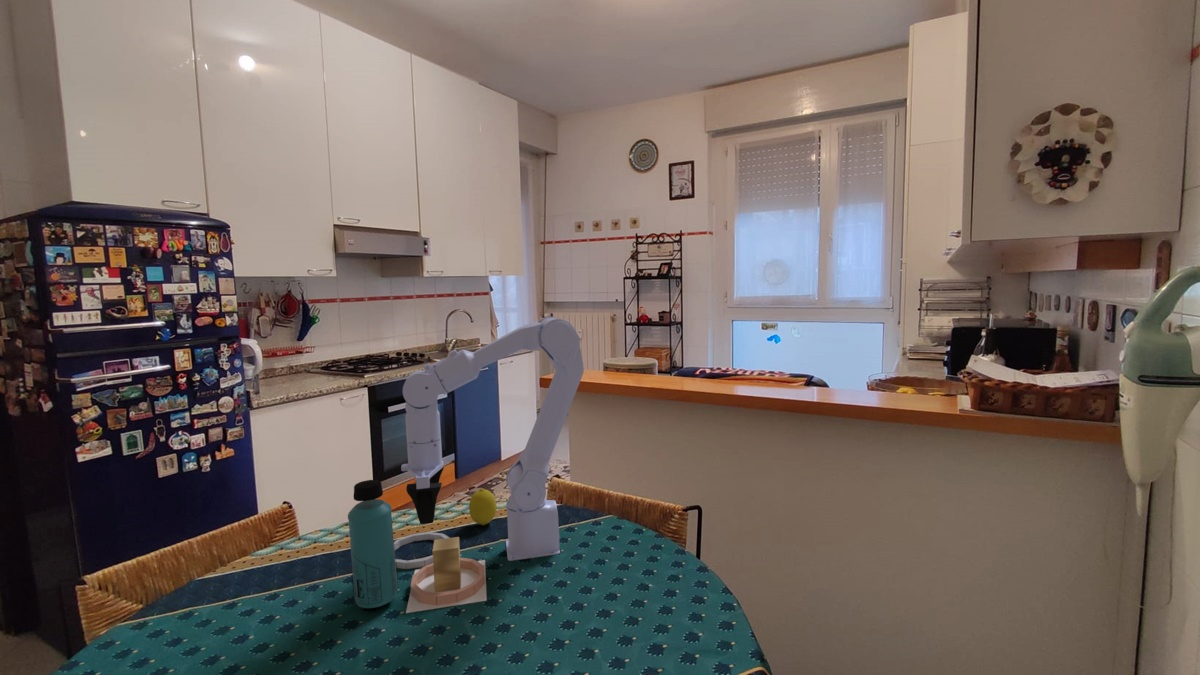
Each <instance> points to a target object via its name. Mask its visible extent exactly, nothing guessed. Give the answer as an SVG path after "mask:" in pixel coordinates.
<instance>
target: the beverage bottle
mask: <svg viewBox="0 0 1200 675" xmlns="http://www.w3.org/2000/svg"><path fill="white" fill-rule="evenodd" d="M383 495H384V491H383V487H382V481H381V480H377V479H368V480H362V481H360V482H358V483H355V485H354V486H353V500H354V501H357V502H358V503H357V504H355V505H354V506H353V507H352V508H351V510H349V512H348V514H347V520H348V528H349V541H350V542H349V543H350V544H349V548H350V554H351V556H350V557H351V560H350V563H351V578H352V579H351V580H352V581H351V582H352V592H353V599H354V602H355V603H356V605H357V606H358V607H360V608H363V609H374V608H379V607H382V606H385V605H386V604H389V603H391V601H393V600H394V599H395V597H396V596H397V593H398V589H399V580H398V576H399V575H398V568H397V563H396V562H395V560H396V559H397V558H396V551H397V549H396V548H395V549H396V550H395V549H394V542H395V540H394V531H393V530H394V529H393V517H392V506H391V504H390V503H388V502H386V501H385V500H383V499H380V498H381V497H382V496H383Z"/></svg>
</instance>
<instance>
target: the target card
mask: <svg viewBox="0 0 1200 675" xmlns="http://www.w3.org/2000/svg"><path fill="white" fill-rule="evenodd" d="M477 561H478V562H479V563H481V564H482V565H483V566H484V577H485V584H484V585H483V586H482V587H481V588H480V589H479V591H478V592H477V593H476V594H474V595H472V596H470V597H468V598H466V599H464V600H461V601H459V602H456V603H450V604H443V605H431V604H425V603H420V602H418V601H417V600H416V599H415V598H414V597H413V596H412V595H411V590H410V593H409V597H408V602H407V606H406V610H405V614H409V613H417V612H422V611H428V610H434V609H440V608H441V609H442V608H447V607H448V608H449V607H454V606H459V605H467V604H474V603H480V602H486V601H487V599H488V598H487V580H486V579H487V578H486V577H487V576H486V572H487V571H486V560H485V559H483V560H477ZM420 569H421V568H418V569H417V568H416V569H414V573H413V575H414V574H416V573H417V572H418V571H419V570H420ZM478 576H479V575H478V574H477V573H475V572H474V571H473V570H469V569H462V568H461V588H463V587H465V586H467V585H469V584H471V583H472V582H473V581H474V580H475V579H476V578H477V577H478ZM418 587H419V588H420V589H422V590H423V591H427V592H433V593H435V584H434V574H432V575H429V576H427V577H426V578H425V579H424V580H423V581H421V582H420V583H419V584H418ZM456 590H458V589H456ZM456 590H449V591H443V592H450V591H456ZM443 592H436V593H443Z"/></svg>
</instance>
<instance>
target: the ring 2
mask: <svg viewBox="0 0 1200 675" xmlns="http://www.w3.org/2000/svg"><path fill="white" fill-rule="evenodd" d="M478 561H479V560H476V559H472V558H466V557H460V562H461V568H462V569H469V570H473V571H474V572H475V573H477V574H478V575H479V576H478V577H477V578H476V579H475V580H474V581H473V582H472V583H471V584H469V585H467V586H465V587H463V588H460V589H458V590H456V591H450V592H443V593H433V592H427V591H423V590H422V589H420V588H419V587H418V584H419V583H420V582H421V581H423V580H424V579H425V578H426V577H427V576H429V575H432V574H434V568H433V563H432V564H429V565H426V566H424V567H421V568H419V569H420V570H419V571H418V572H417V573H416V574H414V573H413V575H412V577H411V582H410V591H411V595H412V596H413V597H414V598H415V599H416V600H417V601H418V602H420V603H425V604H431V605H443V604H450V603H456V602H459V601H461V600H464V599H466V598H468V597H470V596H472V595H474V594H476V593H477V592H478V591H479V589H480V588H481V587H482V586H483V585H484V584H485V577H484V566H483V565H482V564H481V563H479V562H478Z"/></svg>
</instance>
